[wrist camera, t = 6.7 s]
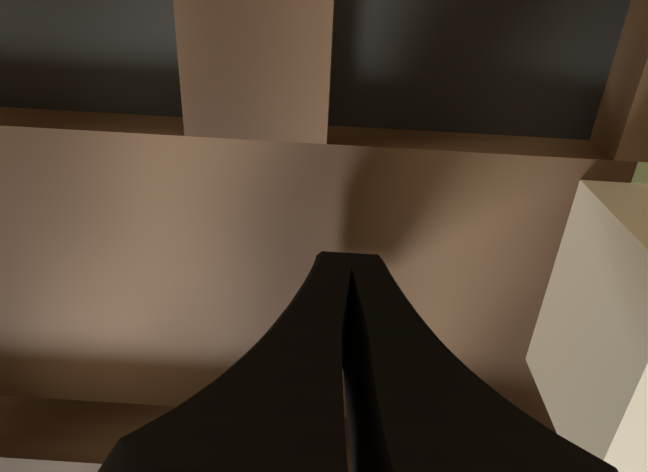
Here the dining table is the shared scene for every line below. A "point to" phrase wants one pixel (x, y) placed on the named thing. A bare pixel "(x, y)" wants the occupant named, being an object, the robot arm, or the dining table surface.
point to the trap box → (284, 185)
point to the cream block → (598, 326)
